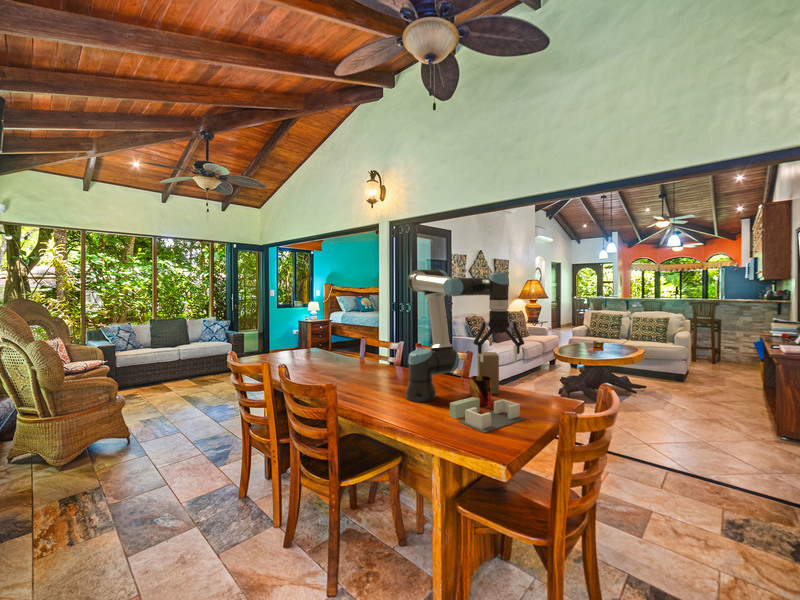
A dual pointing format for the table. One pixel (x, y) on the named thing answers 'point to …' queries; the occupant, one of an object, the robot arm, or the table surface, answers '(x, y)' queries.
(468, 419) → the cap
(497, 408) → the cap
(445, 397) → the table surface
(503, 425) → the mat
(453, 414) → the slat
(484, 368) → the wooden block
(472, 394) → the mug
